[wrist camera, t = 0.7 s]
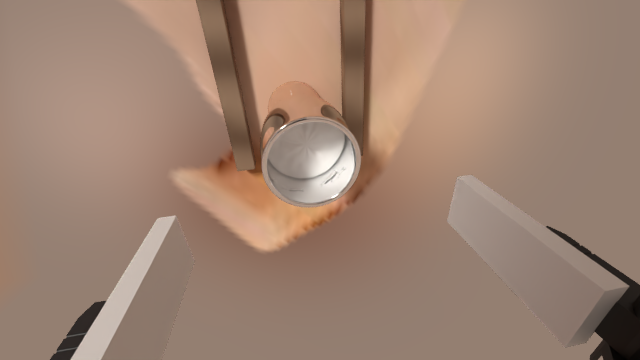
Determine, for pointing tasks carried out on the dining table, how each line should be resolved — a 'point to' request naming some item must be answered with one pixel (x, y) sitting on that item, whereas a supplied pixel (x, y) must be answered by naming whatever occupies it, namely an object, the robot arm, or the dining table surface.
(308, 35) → the dining table surface
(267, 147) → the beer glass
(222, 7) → the guide track
